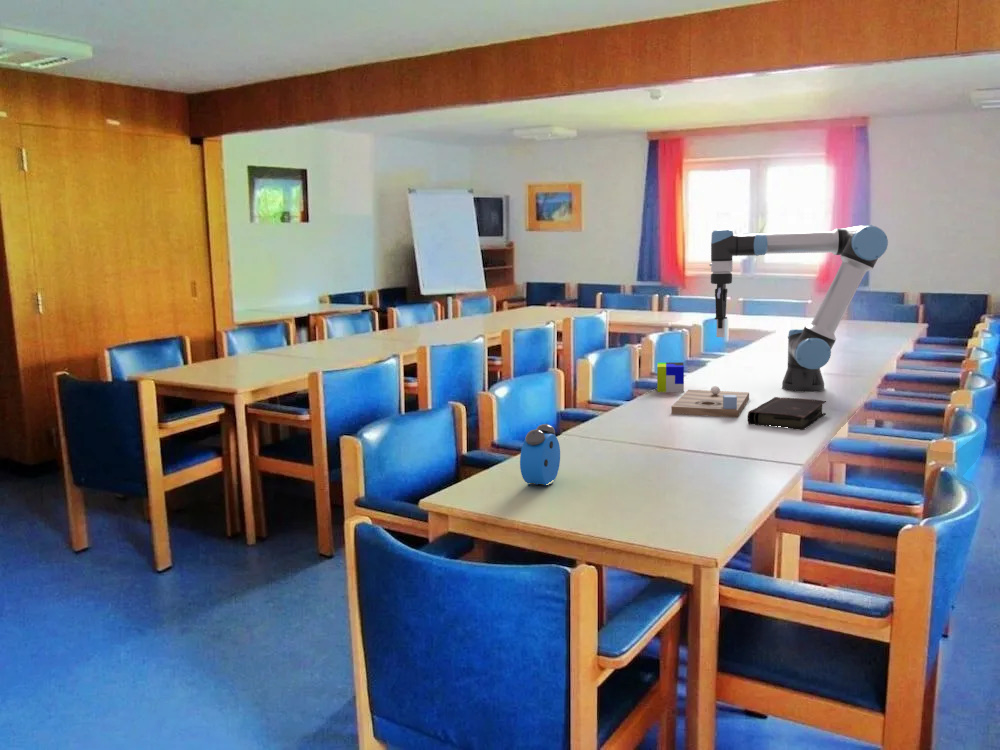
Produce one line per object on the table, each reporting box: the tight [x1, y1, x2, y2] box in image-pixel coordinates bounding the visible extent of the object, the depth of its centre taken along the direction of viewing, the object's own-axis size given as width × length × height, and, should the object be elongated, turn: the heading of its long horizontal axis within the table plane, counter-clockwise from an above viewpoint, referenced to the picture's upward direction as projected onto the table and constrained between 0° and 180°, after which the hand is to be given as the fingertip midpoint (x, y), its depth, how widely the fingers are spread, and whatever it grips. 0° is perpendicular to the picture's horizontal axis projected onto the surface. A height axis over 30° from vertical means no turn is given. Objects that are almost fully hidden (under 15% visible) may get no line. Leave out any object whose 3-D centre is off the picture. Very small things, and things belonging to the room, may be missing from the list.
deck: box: [671, 389, 750, 418], centre depth 290 cm, size 30×22×2 cm
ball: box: [710, 385, 721, 395], centre depth 296 cm, size 3×3×3 cm
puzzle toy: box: [656, 362, 685, 393], centre depth 320 cm, size 10×10×10 cm
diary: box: [747, 396, 827, 430], centre depth 267 cm, size 19×25×5 cm
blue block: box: [723, 395, 737, 409], centre depth 275 cm, size 4×4×4 cm
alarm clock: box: [519, 423, 561, 486], centre depth 208 cm, size 13×6×15 cm, turn 154°
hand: (720, 336), depth 303 cm, fingers closed
